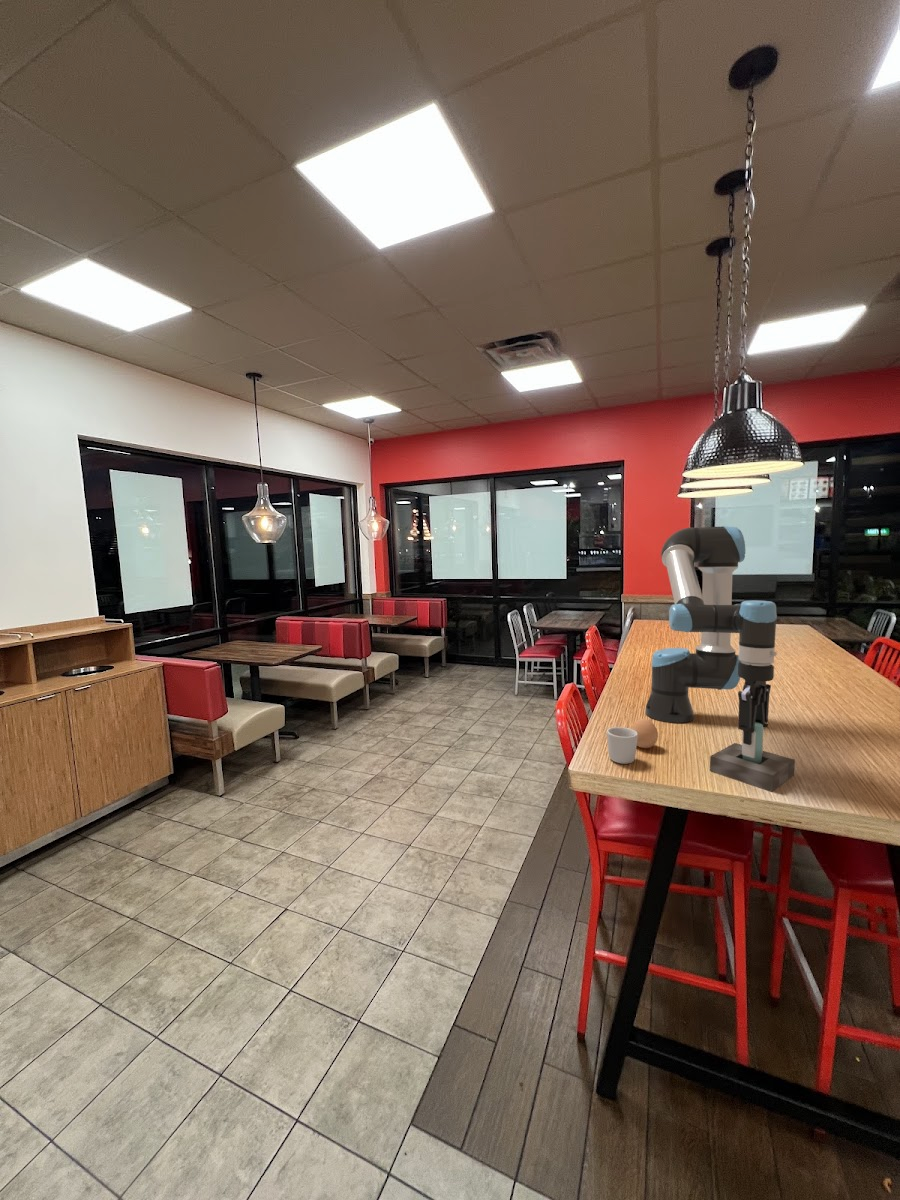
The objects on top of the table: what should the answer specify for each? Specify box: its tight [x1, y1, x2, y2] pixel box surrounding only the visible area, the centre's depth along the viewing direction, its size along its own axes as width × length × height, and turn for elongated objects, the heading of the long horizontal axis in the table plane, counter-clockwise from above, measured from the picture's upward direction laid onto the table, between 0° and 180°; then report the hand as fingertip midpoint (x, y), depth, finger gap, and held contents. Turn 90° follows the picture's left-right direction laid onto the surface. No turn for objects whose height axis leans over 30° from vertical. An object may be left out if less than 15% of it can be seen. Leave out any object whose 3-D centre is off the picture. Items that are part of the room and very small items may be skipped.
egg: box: [630, 717, 659, 749], centre depth 137 cm, size 7×7×8 cm
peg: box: [743, 722, 764, 764], centre depth 120 cm, size 4×4×12 cm
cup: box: [606, 726, 638, 765], centre depth 130 cm, size 11×8×8 cm
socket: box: [709, 742, 796, 793], centre depth 120 cm, size 14×14×4 cm
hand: (752, 753), depth 120 cm, fingers closed on peg, 4 cm apart
